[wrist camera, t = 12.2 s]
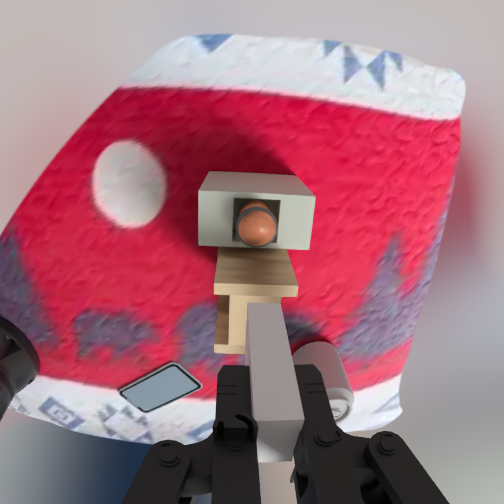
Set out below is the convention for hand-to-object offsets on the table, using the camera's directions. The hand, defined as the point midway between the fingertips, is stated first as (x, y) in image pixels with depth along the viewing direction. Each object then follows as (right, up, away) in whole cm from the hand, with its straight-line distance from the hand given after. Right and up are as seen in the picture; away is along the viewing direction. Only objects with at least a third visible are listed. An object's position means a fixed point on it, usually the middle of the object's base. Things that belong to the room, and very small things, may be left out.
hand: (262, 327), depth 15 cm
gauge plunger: (0, +7, +15) cm, 17 cm away
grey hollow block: (0, +10, +22) cm, 25 cm away
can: (+9, -12, +33) cm, 36 cm away
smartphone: (-16, -20, +35) cm, 44 cm away
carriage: (-1, +4, +25) cm, 25 cm away
